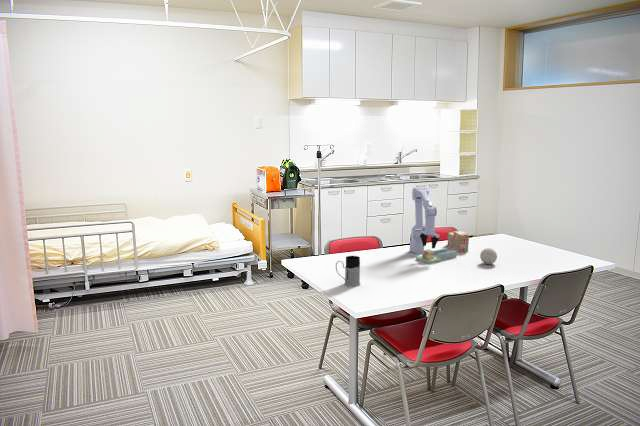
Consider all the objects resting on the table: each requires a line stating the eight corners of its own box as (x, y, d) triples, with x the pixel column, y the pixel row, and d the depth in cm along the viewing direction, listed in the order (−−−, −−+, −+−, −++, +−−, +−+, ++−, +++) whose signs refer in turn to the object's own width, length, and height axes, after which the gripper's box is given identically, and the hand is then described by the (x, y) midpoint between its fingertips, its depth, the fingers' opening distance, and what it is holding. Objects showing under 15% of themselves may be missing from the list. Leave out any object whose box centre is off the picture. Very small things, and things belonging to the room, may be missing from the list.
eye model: (481, 265, 321) (482, 250, 319) (478, 261, 331) (479, 246, 329) (497, 266, 320) (499, 250, 318) (494, 262, 329) (495, 246, 328)
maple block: (422, 257, 330) (422, 250, 330) (427, 256, 333) (427, 249, 332) (428, 259, 326) (428, 251, 326) (433, 258, 329) (433, 250, 328)
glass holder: (363, 285, 280) (363, 258, 277) (338, 288, 275) (338, 261, 273) (356, 281, 288) (357, 254, 286) (332, 283, 283) (333, 256, 281)
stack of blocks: (447, 245, 374) (448, 228, 372) (455, 244, 375) (456, 228, 373) (459, 252, 354) (460, 234, 351) (468, 252, 355) (469, 234, 352)
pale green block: (415, 260, 333) (416, 253, 332) (444, 254, 348) (444, 247, 348) (429, 264, 323) (430, 257, 323) (458, 257, 339) (458, 251, 338)
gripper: (417, 224, 330) (416, 245, 333) (434, 228, 319) (433, 250, 321) (424, 223, 335) (423, 244, 337) (442, 227, 323) (441, 248, 325)
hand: (428, 246), depth 329 cm, fingers open, 7 cm apart
